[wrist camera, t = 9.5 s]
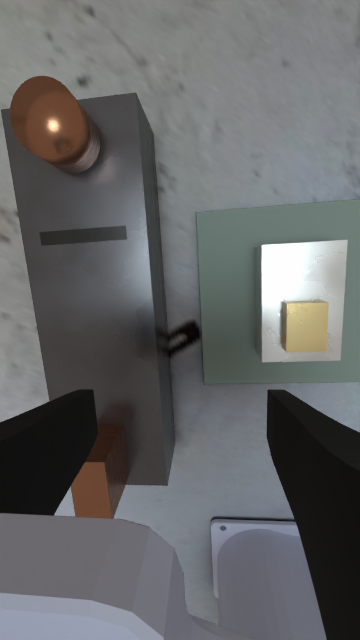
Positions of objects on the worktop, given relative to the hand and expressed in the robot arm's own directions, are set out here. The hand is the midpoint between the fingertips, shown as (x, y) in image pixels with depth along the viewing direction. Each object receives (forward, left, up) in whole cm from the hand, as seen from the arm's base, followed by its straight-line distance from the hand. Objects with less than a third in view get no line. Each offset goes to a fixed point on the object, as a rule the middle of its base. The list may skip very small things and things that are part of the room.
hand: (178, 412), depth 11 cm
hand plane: (+5, -3, -9) cm, 11 cm away
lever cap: (-7, -3, -9) cm, 12 cm away
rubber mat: (-7, -3, -9) cm, 12 cm away
